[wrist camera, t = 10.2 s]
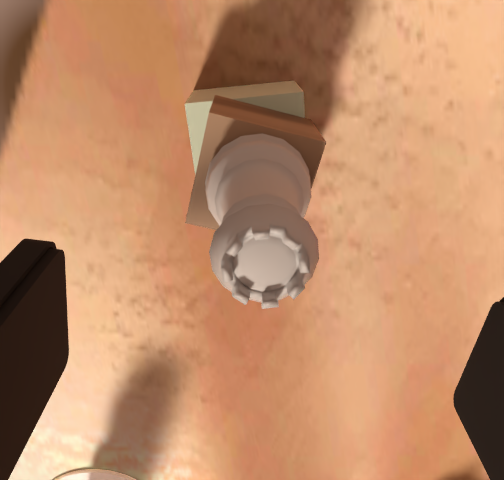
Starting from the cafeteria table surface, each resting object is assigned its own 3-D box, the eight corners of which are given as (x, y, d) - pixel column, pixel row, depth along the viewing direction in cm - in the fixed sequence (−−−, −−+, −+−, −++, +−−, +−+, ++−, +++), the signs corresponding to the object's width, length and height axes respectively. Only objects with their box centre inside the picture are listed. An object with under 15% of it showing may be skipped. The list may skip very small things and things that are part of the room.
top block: (215, 94, 24) (208, 112, 19) (310, 119, 25) (326, 142, 20) (195, 187, 26) (185, 222, 21) (283, 208, 27) (292, 247, 22)
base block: (193, 89, 29) (184, 103, 24) (293, 79, 28) (303, 91, 24) (207, 185, 31) (201, 214, 27) (299, 176, 31) (309, 203, 26)
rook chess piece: (207, 126, 20) (187, 189, 12) (315, 135, 20) (358, 200, 13) (203, 226, 22) (184, 332, 14) (302, 233, 22) (332, 340, 14)
